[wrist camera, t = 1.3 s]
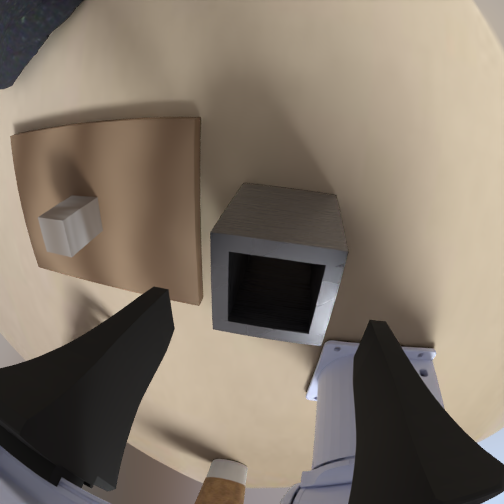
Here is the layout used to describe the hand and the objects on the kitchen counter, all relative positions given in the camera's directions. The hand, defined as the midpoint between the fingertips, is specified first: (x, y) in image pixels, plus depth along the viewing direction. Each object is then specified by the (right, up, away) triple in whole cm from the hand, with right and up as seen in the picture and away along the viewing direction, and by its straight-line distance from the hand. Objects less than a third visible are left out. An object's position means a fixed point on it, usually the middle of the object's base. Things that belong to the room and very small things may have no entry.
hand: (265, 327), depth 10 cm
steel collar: (+1, +4, +7) cm, 8 cm away
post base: (-11, +6, +9) cm, 15 cm away
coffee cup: (-4, -32, +29) cm, 44 cm away
